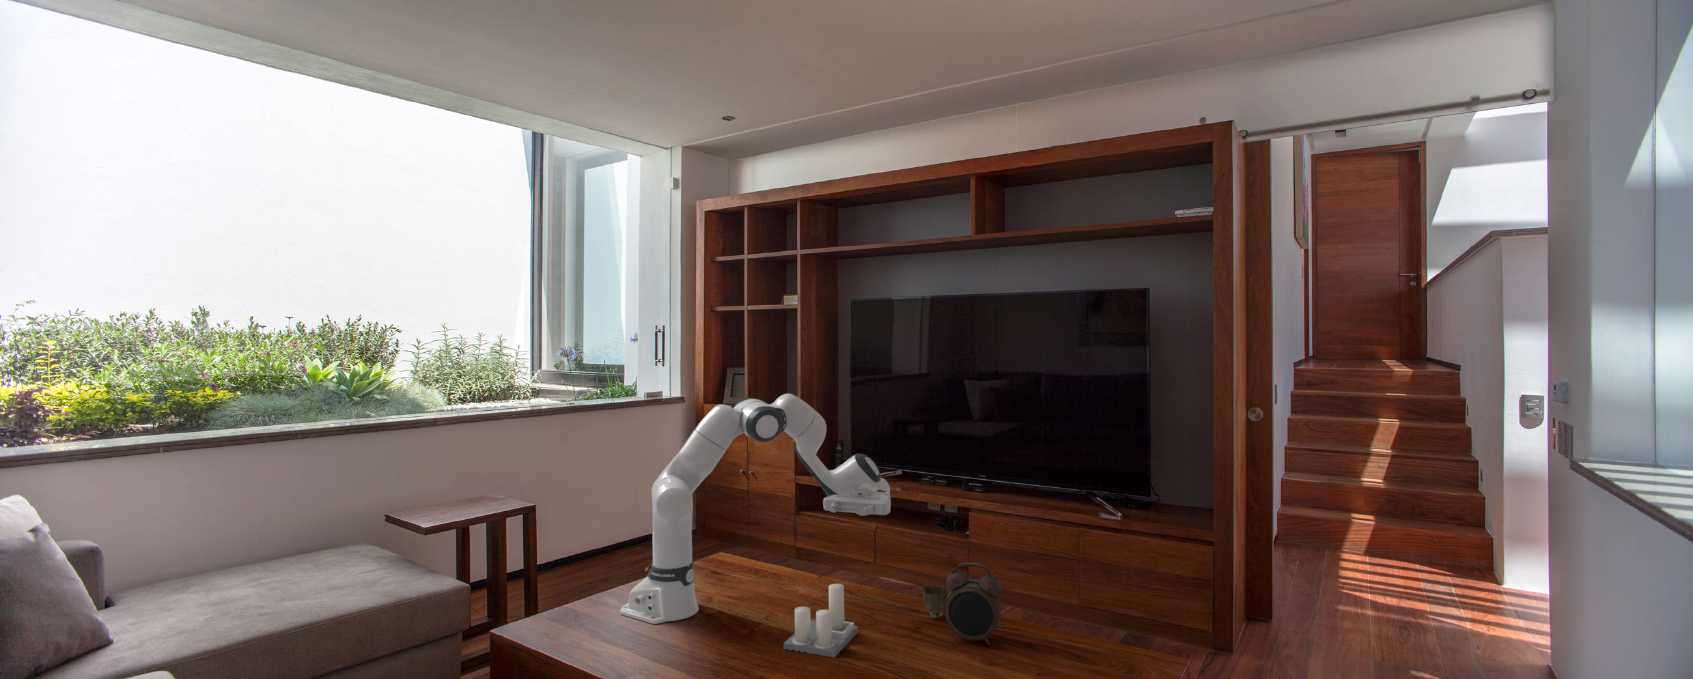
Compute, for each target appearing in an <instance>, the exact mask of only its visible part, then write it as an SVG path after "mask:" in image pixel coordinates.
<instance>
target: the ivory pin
mask: <svg viewBox="0 0 1693 679" xmlns="http://www.w3.org/2000/svg"><path fill="white" fill-rule="evenodd" d="M828 610H830V611H832V630H834V631H841V632H843V631H844V621H845V585H843V584H842V583H832V584H829V585H828Z"/></svg>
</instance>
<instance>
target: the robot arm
mask: <svg viewBox="0 0 1693 679" xmlns="http://www.w3.org/2000/svg"><path fill="white" fill-rule="evenodd" d="M783 431H784V432H785V433H786V434H787V435H788V436H789V437H791V438H792V440H793V441H794V443H795V445H794V446H795V447H794V450H795V454H796V455H797V458H798V459H799V460H800V461H801V463H802V464H803V466H804V467H805V468H806V470H807V471H809V474H811V475H812V476H813V478H814V479H815V480H816V481H817V483H818V484H819V485H820V486H821V489H822V490H823V493H825V495H826V497H824V498H823V501H822V504H823V510H825V511H827V512H828V511H829V512H830V513H837V512H841V513H855V514H856V515H858V516H869V515H876V516H877V515H878V516H886V515H888V514H890V513H891V505H892V502H891V487H890V484H889V482H888V481H887V480H886V479H885V478H883V477H882V476H881V471H880V469H879V467H878V465H877V464H876V462H875V460H874V459H873V458H871V457H870V456H868V455H866V454H863V453H855V454H854V455H852V456H851V457H850V458H848V459H847V460H846V461H844V462H843V463H842V464H840V465H839V466H837V467H836V468H835V469H831V470H830V469H828V468H827V467H826V466H825V464H824V463H823V462H822V461H821V460H820V458H819V456H817V453H818V451H819V449H820V448H821V446H822V445H823V443H824V441H825V438H826V435H827V424H826V420H825V418H823V416H822V415H821V414H820V413H819V412H818V411H817V410H815V409H814V408H813V407H812V406H811V405H810V404H808V403H807V402H806V401H804V400H802V399H801V398H800V397H798V396H796V395H794V394H793V393H784V394H781V395H779V397H777V398H776V399H775V401H774V402H772V403H770V404H769V403H767V402H765V401H763V400H760V398H756V397H746V398H745V397H744V398H743V399H740V400H739V401H737V402H736V403H734V404H732V405H727V404H717V405H715V406H714V407H713V408H712V409H711V410H710V411H709V412H708V413H707V414H706V415H705V416H704V417H703V418H702V420H700V422H699V423H698V424H697V426H696V427H695V429H693V431H692V433H691V434H690V436H689V437H688V438H687V440H686V441H685V443H684V445H683V446H682V447H681V448H680V450H679V451H678V452H677V454H676V455H675V456H674V457H673V459H672V460H671V461H670V462H669V463H668V465H666V467H665V468H664V469H663V471H662V472H661V473H660V474H659V476H658V477H657V478H656V480H654V483H653V484H652V487H651V493H650V494H651V504H652V505H651V506H652V507H651V508H652V562H651V563H649V565H648V566H646V567H644V569H645V570H644V572H648V574H647V576H646V577H645V578H644V579H642V580H641V581H640V582H639V583H637V584H636V585H635V586H634V587H633V588H631V591H630V592H629V596H628V601H627V603H625V604H624V605H623V606H622V607H621V608H620V609H619V613H620V615H622V616H626V617H629V618H632V619H636V620H639V621H643V622H646V623H648V624H653V625H657V624H662V623H666V622H673V621H681V620H684V619H688V618H690V617H692V616H694V615H696V614H697V613H698V612H699V610H700V608H699V605H698V601H697V598H696V597H697V596H696V594H695V593H696V592H695V586H694V578H695V562H694V559H693V537H692V536H693V534H692V532H693V516H694V515H693V508H694V506H693V505H694V504H693V502H694V498H693V493H694V492H695V491H696V490H697V488H698V487H699V486H700V485H701V484H702V483H703V481H704V480H705V479H706V478H707V477H708V476H709V475H710V474H712V472H713V471H714V469H715V468H716V467H717V465H718V463H719V462H720V460H721V459H722V458H723V456H724V454H725V453H726V452H727V450H728V449H729V447H730V445H731V444H732V442H733V441H734V440H736V438H738V437H739V436H741V435H743V434H744V435H745V436H747V437H748V438H750V439H751V440H753V441H755V442H758V443H768V442H772V441H773V440H775V439H776V438H777V437H778V436H779V435H780V434H781V433H783Z"/></svg>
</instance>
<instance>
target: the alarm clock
mask: <svg viewBox="0 0 1693 679" xmlns="http://www.w3.org/2000/svg"><path fill="white" fill-rule="evenodd" d="M967 566H971V567H977V568H978V567H979V568H981V569H984V570H985V572H986V575H984V576H982V577H981V578H980V579H977V575H975V574H970V575H969V577H968V575H967V574H965V573H964V572H963V571H959V569H960V568H961V567H967ZM949 572H950V573H949V574H947V578H946V581H945V584H946V587H948V589H949V594H948V596H947V598H946V602H945V607H944V612H943V615H944V617H945V620H946V623H947V625H948V626H949V628H950V629H951V631H952V632H953V633H954V634H955V636H954V638H952V639H953V641H954V642H956V640H957V639H958V638H959V637H960V638H962V639H963V640H964V639H965V640H968V641H975V642H976V641H982V640H984V641H985V642H986V643H987V644H990V645H991V643H990V641H989V639H988V638H991V637H992V634H993V633H994V632H995V631H996V630H997V628H998V626H999V624H1000V621H1001V619H1002V603H1001V599H1000V597H999V596H1000V594H1001V592H1002V587H1003V586H1002V582H1000V580H999V579H998V575H997V574H995V575H992V572H991V571H990V570H989V568H988V567H987V566H986V565H984V564H981V563H978V562H977V563H976V562H963V563H959V564H958V565H957V566H956V568H955V570H954V569H952V568H951V569H950V570H949ZM987 644H986V645H987Z"/></svg>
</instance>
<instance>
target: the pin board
mask: <svg viewBox="0 0 1693 679" xmlns="http://www.w3.org/2000/svg"><path fill="white" fill-rule="evenodd" d="M858 627H859V626H856V625H855V622H851V621H845V620H844V631H843V632H841V631H834V630H832V611H830V610H829V609H819V610H817V611H816V612H815V619H811V608H810V607H808V606H797V607H795V608H794V633H793V634H792V635H791V636H790V637H789V638H787V639H786V640H785V641H784V642H783V649H784V650H786V649H788V651H792V650H795V651H794V652H798V651H800V653H804V652H806V653H807V654H810V655H811V654H812V655H817V656H824V657H829V658H836V657H837V656H838V654H839V653H841V651H842V650H843V649H844V648H845V647H846V646H847V645H848V644H849V642H851V640H853V638H854V637H855V636H856V635H857V634H858V633H859V628H858ZM806 653H805V654H806Z"/></svg>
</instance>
